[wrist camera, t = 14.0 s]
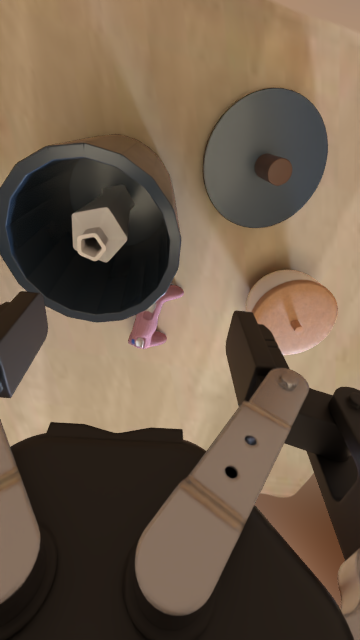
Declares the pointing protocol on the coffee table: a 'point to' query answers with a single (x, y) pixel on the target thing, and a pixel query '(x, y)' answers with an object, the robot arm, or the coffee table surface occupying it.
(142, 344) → the video game controller
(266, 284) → the trinket box
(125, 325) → the coffee table surface
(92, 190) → the canister
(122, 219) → the perfume bottle
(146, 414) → the coffee table surface
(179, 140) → the coffee table surface
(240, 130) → the lid
